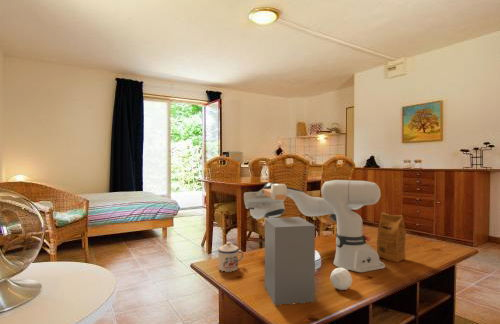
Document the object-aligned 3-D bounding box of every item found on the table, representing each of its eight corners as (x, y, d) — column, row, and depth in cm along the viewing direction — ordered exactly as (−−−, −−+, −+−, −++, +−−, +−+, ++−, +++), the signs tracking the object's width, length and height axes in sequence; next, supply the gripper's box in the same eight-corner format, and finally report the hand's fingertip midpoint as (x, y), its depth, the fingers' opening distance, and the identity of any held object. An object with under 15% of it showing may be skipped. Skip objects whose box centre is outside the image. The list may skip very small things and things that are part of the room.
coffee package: (385, 253, 150) (385, 210, 150) (408, 260, 140) (409, 214, 140) (373, 256, 145) (373, 212, 145) (396, 263, 134) (397, 216, 134)
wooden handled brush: (271, 193, 136) (271, 180, 136) (287, 199, 113) (287, 184, 113) (260, 193, 135) (260, 180, 135) (274, 200, 112) (274, 184, 112)
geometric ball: (335, 294, 109) (325, 273, 113) (354, 286, 110) (343, 266, 114) (338, 292, 103) (327, 270, 107) (358, 284, 103) (347, 262, 107)
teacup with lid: (222, 274, 122) (222, 246, 122) (215, 267, 130) (215, 241, 130) (247, 269, 127) (248, 242, 127) (239, 262, 135) (239, 237, 135)
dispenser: (299, 284, 112) (299, 217, 112) (314, 302, 98) (314, 225, 98) (264, 286, 109) (264, 218, 109) (274, 305, 95) (275, 227, 95)
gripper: (283, 207, 144) (290, 196, 133) (242, 208, 141) (247, 197, 129) (281, 195, 147) (288, 184, 136) (241, 196, 144) (245, 185, 132)
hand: (268, 190), depth 132 cm, fingers closed on wooden handled brush, 4 cm apart
